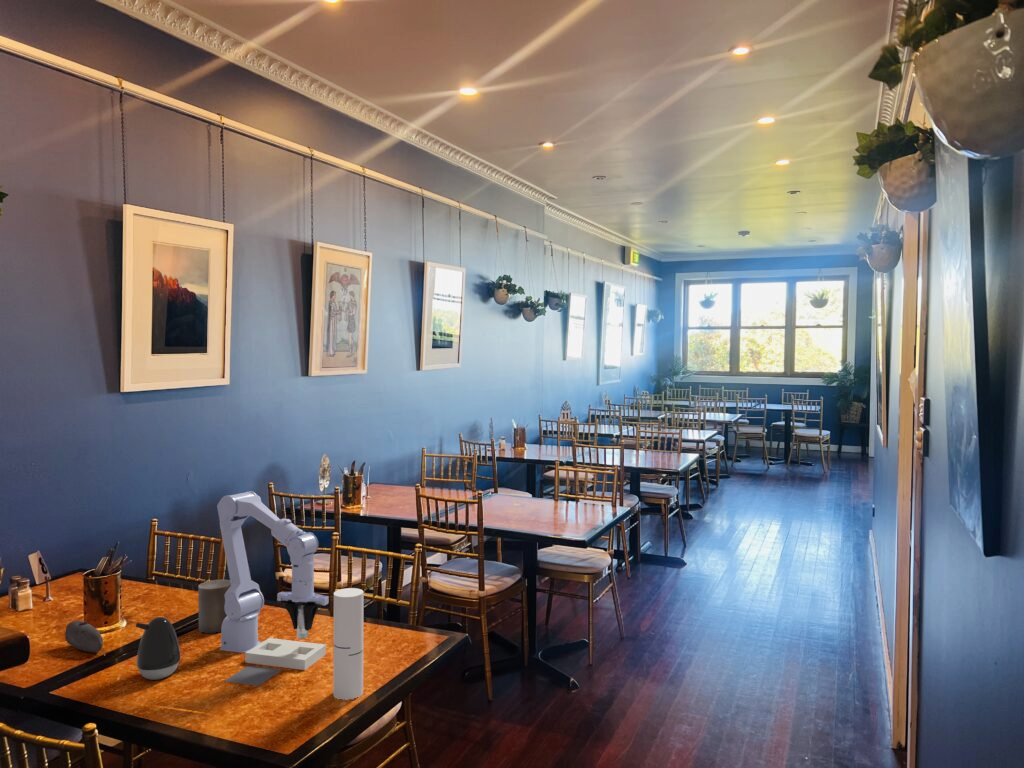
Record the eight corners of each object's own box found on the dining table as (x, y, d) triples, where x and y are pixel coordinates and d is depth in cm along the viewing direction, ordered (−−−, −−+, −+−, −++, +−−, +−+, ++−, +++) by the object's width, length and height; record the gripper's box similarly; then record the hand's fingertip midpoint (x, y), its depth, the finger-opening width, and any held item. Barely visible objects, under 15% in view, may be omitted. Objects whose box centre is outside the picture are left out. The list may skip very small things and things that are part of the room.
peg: (294, 638, 192) (294, 608, 192) (300, 634, 195) (300, 605, 195) (304, 639, 191) (304, 609, 191) (310, 635, 194) (310, 606, 194)
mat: (224, 682, 180) (224, 681, 180) (248, 666, 190) (248, 665, 190) (258, 687, 178) (258, 685, 178) (281, 671, 187) (281, 669, 187)
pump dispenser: (137, 671, 186) (137, 613, 186) (181, 664, 191) (181, 608, 190) (133, 687, 177) (133, 626, 177) (179, 680, 181) (179, 621, 181)
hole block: (245, 663, 192) (245, 652, 192) (269, 648, 202) (269, 637, 202) (304, 671, 187) (305, 660, 187) (326, 655, 198) (326, 644, 198)
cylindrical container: (335, 687, 178) (336, 588, 177) (364, 686, 178) (365, 587, 178) (331, 700, 171) (331, 597, 170) (361, 699, 171) (361, 596, 171)
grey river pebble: (110, 652, 199) (109, 627, 199) (90, 658, 194) (90, 633, 194) (82, 641, 207) (82, 617, 207) (63, 646, 202) (63, 622, 202)
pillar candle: (239, 626, 219) (239, 578, 219) (210, 636, 211) (210, 585, 211) (219, 620, 224) (219, 573, 224) (191, 630, 216) (191, 581, 216)
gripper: (270, 580, 191) (270, 631, 191) (319, 585, 187) (319, 636, 188) (285, 573, 198) (285, 622, 198) (332, 577, 194) (332, 627, 194)
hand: (302, 628), depth 193 cm, fingers closed on peg, 3 cm apart
